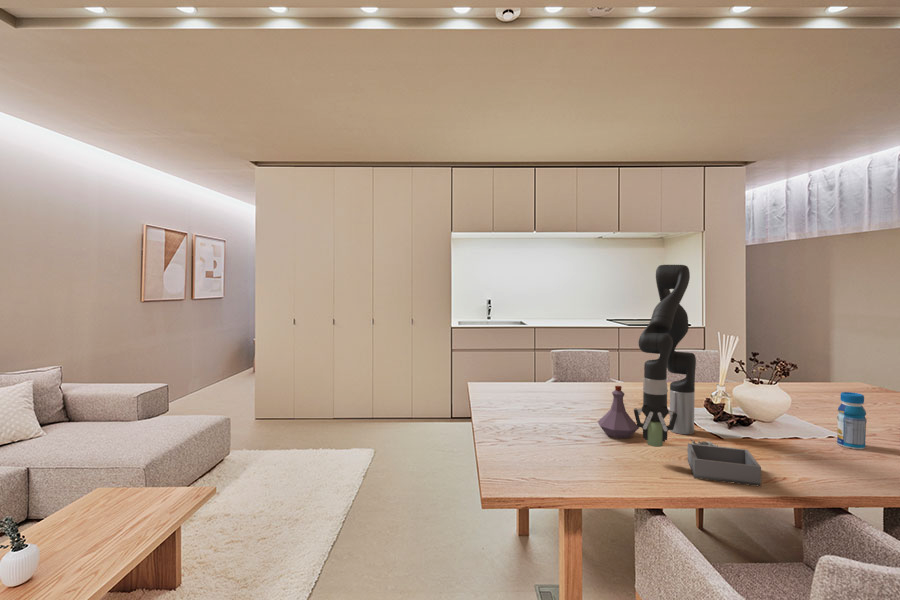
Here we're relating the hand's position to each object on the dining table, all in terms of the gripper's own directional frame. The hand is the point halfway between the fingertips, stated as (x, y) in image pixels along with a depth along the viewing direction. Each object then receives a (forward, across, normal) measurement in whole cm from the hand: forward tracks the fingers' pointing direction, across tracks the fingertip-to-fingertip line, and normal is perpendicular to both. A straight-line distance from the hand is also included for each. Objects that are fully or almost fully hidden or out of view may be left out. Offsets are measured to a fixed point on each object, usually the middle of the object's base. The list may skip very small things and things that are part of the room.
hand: (654, 440), depth 159 cm
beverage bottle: (+9, -71, -44) cm, 84 cm away
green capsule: (+1, 0, 0) cm, 1 cm away
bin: (+8, -20, +1) cm, 22 cm away
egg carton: (+9, -18, -17) cm, 26 cm away
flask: (+9, +12, -28) cm, 31 cm away
